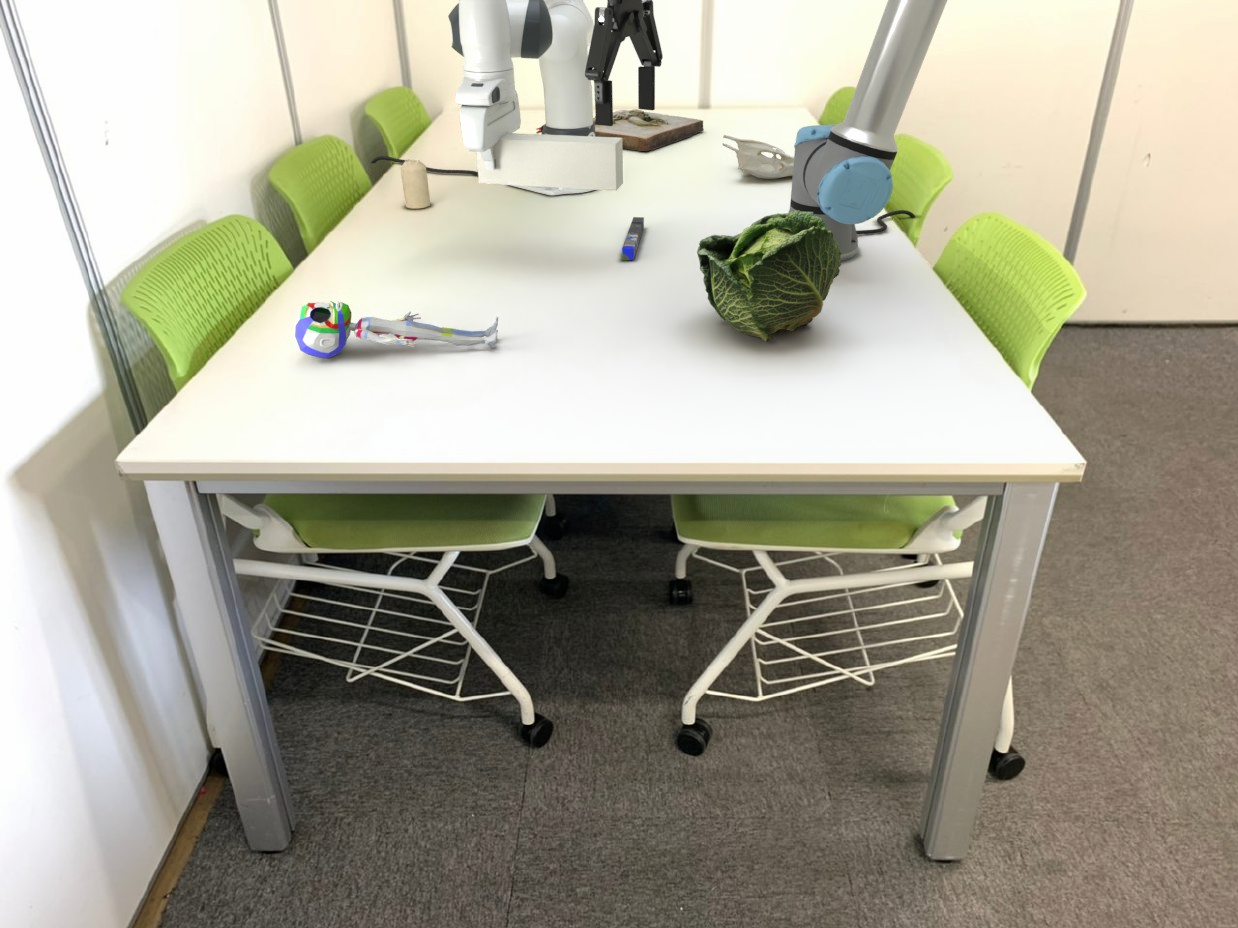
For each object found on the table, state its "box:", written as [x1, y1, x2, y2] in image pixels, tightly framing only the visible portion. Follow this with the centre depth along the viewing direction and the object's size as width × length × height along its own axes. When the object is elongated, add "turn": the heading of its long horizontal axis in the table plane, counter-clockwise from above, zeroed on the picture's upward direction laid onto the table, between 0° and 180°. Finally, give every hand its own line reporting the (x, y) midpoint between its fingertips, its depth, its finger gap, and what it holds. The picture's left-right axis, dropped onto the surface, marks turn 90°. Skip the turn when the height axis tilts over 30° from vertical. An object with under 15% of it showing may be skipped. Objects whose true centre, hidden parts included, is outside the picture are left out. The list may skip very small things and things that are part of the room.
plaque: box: [593, 108, 705, 152], centre depth 257 cm, size 30×7×30 cm
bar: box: [475, 132, 624, 192], centre depth 164 cm, size 26×5×8 cm, turn 76°
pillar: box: [621, 216, 645, 261], centre depth 178 cm, size 2×2×20 cm
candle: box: [399, 158, 431, 210], centre depth 200 cm, size 6×6×10 cm
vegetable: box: [696, 210, 842, 342], centre depth 138 cm, size 20×19×20 cm
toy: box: [293, 300, 499, 359], centre depth 136 cm, size 10×8×30 cm
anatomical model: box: [721, 134, 794, 180], centre depth 217 cm, size 15×9×25 cm
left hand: (496, 165), depth 167 cm, fingers closed on bar, 5 cm apart
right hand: (626, 117), depth 145 cm, fingers open, 13 cm apart
